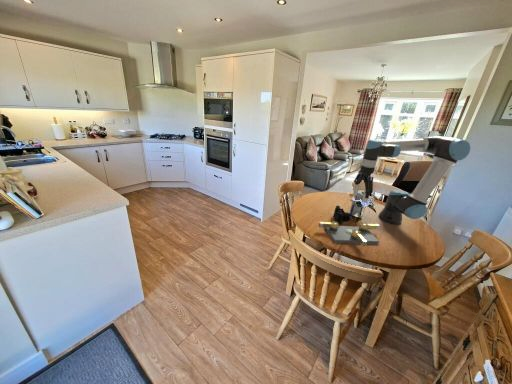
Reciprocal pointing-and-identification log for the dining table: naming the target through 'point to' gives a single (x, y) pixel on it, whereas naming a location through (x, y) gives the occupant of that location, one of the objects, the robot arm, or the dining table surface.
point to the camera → (341, 215)
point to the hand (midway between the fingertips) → (359, 197)
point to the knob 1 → (329, 225)
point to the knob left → (358, 237)
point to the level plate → (345, 235)
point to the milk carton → (354, 206)
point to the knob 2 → (368, 226)
